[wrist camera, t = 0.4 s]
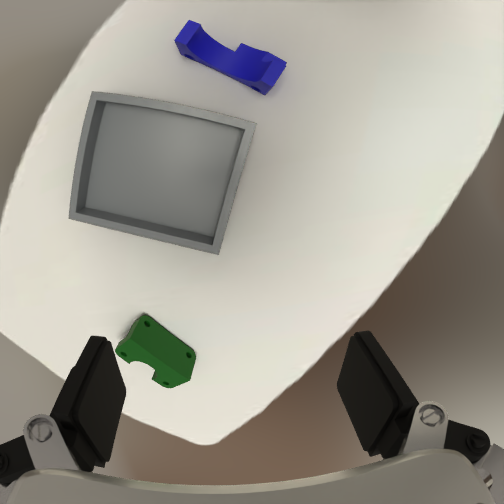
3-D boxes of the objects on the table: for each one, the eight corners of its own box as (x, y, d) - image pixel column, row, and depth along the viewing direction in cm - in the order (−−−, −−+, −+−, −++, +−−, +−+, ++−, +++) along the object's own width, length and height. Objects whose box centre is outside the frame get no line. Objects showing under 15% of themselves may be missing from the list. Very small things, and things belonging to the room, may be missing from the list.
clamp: (141, 319, 47) (105, 341, 39) (160, 305, 45) (122, 327, 36) (182, 375, 47) (152, 404, 38) (204, 365, 44) (174, 396, 36)
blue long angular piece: (281, 68, 31) (292, 55, 26) (264, 95, 33) (272, 87, 27) (199, 28, 28) (196, 10, 23) (181, 55, 29) (174, 40, 24)
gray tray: (104, 95, 30) (91, 91, 26) (252, 125, 34) (256, 123, 30) (81, 210, 35) (68, 218, 31) (218, 243, 39) (218, 254, 35)
